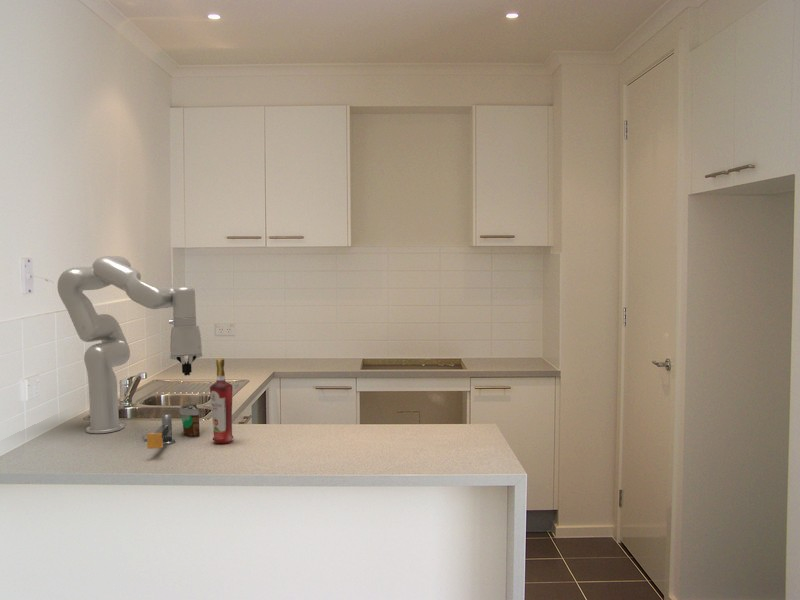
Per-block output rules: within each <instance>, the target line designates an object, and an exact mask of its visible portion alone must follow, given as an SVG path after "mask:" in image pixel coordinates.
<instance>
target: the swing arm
mask: <svg viewBox="0 0 800 600" xmlns="http://www.w3.org/2000/svg"><path fill="white" fill-rule="evenodd" d="M168 432H169V428H168V425H162V424H161V425H160V427H159V428H158V429H157V430H156V431H155V432H151V433H152V434H149V433H146V434H147V442H146V447H147V449H163V447H164V445H163V438H164V437H165V436H166V435H167V434H168Z"/></svg>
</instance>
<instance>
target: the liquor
mask: <svg viewBox="0 0 800 600" xmlns="http://www.w3.org/2000/svg"><path fill="white" fill-rule="evenodd" d="M215 364H216V382H214V383H212V384H211V385H210V386H209V396H210V404H211V405H210V407H211V416H212V428H213V437H212V441H213V442H215V443H216V444H218V445H225V444H229V443H231V441H232V440H233V439H234V435H233V385H232V384H231V383H230V382H227V381H226V376H225V358H216V359H215Z"/></svg>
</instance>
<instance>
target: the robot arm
mask: <svg viewBox="0 0 800 600" xmlns="http://www.w3.org/2000/svg"><path fill="white" fill-rule="evenodd" d="M141 278H142V274H141V272H140V271H139V270H138V269H135V268H133V267H132V265H131V262H130V261H129V260H128V258H126V257H124V256H121V255H120V256H119V255H112V256H111V255H104V256H100V257H98V258H96V259H95V260H94V261H93V264H92V265H91V266H86V267H85V266H82V267H81V266H78V267H77V266H76V267H71V268H68V269H66V270H63V272H62V273H61V274H60V275H59V277H58V280H57V292H58V295H59V298H60V300H61V302H62V303H63V305H64V307H65V309H66V310H67V312H68V315H69V318H70V320H71V323H72V324H73V327H74V329H75V331H76V333H77V335H78V337H79V339H80V340H81V341H82V342H85V343H92V342H97V341H98V342H99V341H100V342H99V343H95V344H92V345H91V346H88V347H87V349H86V351H85V352H84V354H83V355H84V356H83V357H84V358H83V359H84V365H85V369H86V372H87V380H88V381H87V382H88V396H89V397H88V399H89V400H88V401H89V419H90V420H89V421H90V425H89V426H87V427H86V428H85V430H86V433H89V434H107V433H113V432H118V431H121V430H122V429H123V430H124V426H125V425H124V423H123V422H120V419H119V418H120V417H119V413H120V412H119V394H118V379H117V375H116V373H115V371H114V370H113V368H115V367H119V366H122V365H125V364H126V363H127V362H128V361H129V360H130V357H131V350H130V346H129V343H128V341H127V338H126V337H125V334H124V332H123V330H122V327H121V325H120V324H119V321H118V320H117V319H116V318H115V317H114V316H113V315H110V314H108V313H106V314H105V313H103V314H102V313H101V314H98V313H97V312H96V309H95V307H94V305H93V303H92V302H91V301H92V300H91V299H89V297H88V296H86V295H85V294H84V293H83V291H94V290H100V289H104V288H106V287H109V286H111V285H112V286H114V287H116V288H118V289H120V290H122V291H123V292H125V293H126V294H125V295H126V296H127V297H128V298H129V299H130V300H131V301H133V302H135V303H137V304H139V305H141V306H142V307H145V308H146V309H150V310H158V309H159V310H160V309H169V308H172V316H173V318H172V319H169V320H168V324H170V325H172V327H171V330H170V342H169V343H170V355H169V358H170V359H171V360H175V361H178V362H179V363H181V372H182V374H184V376H190V375H191V373H193V371H192V364H193V362H194V361H195V360H196V359H199V358H202V357H203V353H202V350H203V348H202V336H201V330H200V326H199V325H197V310H196V308H197V307H196V290H195V288H194V287H193V286H172V285H171V286H169V285H168V286H167V285H166V286H165V285H164V286H151V285H149V284H148V283H144V281H141ZM185 357H187V361H186V359H185Z"/></svg>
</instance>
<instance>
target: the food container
mask: <svg viewBox="0 0 800 600" xmlns="http://www.w3.org/2000/svg"><path fill="white" fill-rule="evenodd" d="M179 415H181V422H182V423H181V424H182V429H183V430H182V432H183V436H184V437H186V438H199V437H200V435H201V434H200V409H199V408H198V406H197V402H190V403H185V404H182V405H181V406H180V408H179Z"/></svg>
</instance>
